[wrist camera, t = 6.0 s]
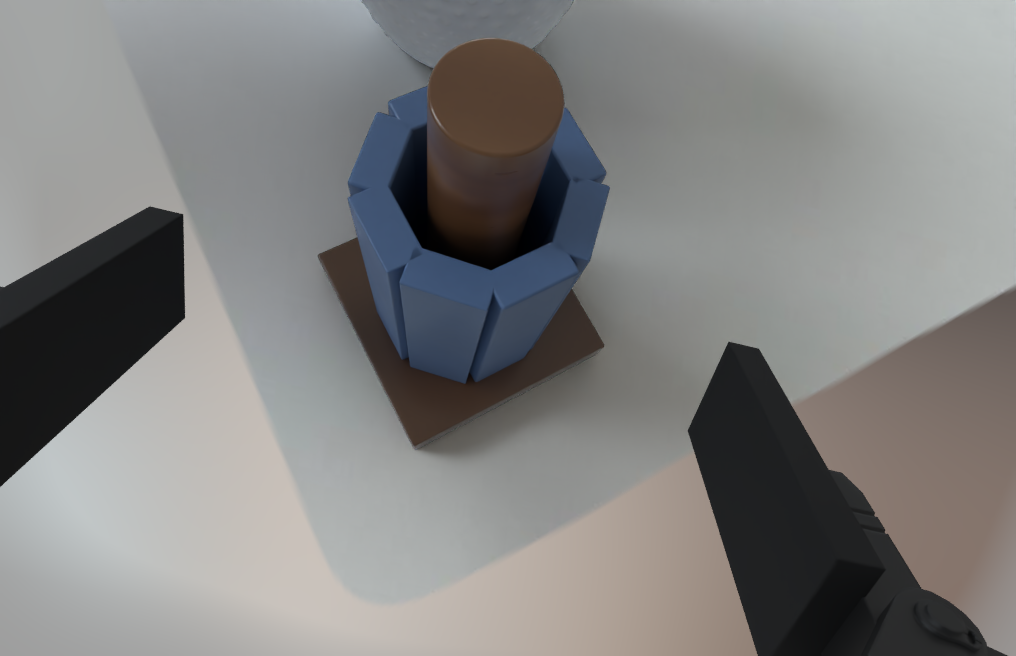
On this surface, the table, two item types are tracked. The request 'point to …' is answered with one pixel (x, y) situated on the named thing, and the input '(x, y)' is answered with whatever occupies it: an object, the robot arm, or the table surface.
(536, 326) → the sleeve
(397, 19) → the mug
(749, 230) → the table surface
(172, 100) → the table surface
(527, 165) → the dowel stand
